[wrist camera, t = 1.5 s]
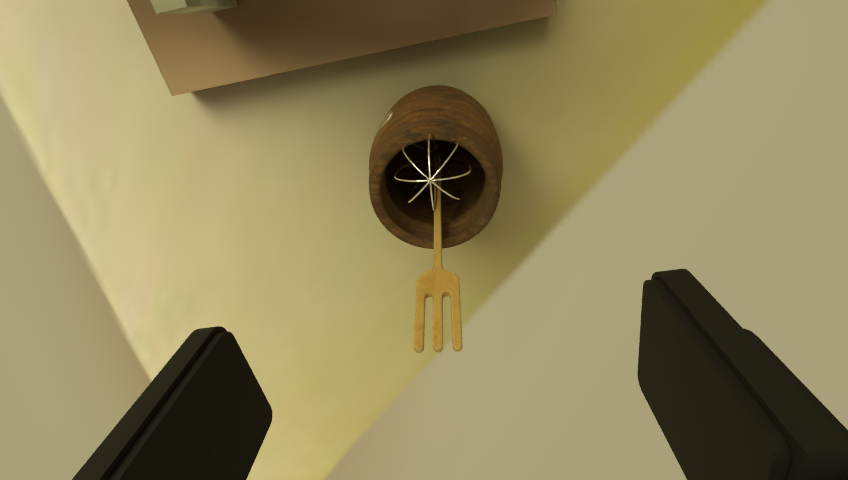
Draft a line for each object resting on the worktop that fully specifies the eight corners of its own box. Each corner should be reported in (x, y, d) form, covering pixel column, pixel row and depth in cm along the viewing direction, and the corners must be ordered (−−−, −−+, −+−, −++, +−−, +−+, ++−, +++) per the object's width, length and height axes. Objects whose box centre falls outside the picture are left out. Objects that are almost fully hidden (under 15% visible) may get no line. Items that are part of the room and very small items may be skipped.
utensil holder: (493, 75, 20) (543, 151, 10) (494, 195, 23) (533, 349, 13) (373, 86, 21) (300, 169, 10) (390, 201, 24) (346, 356, 13)
